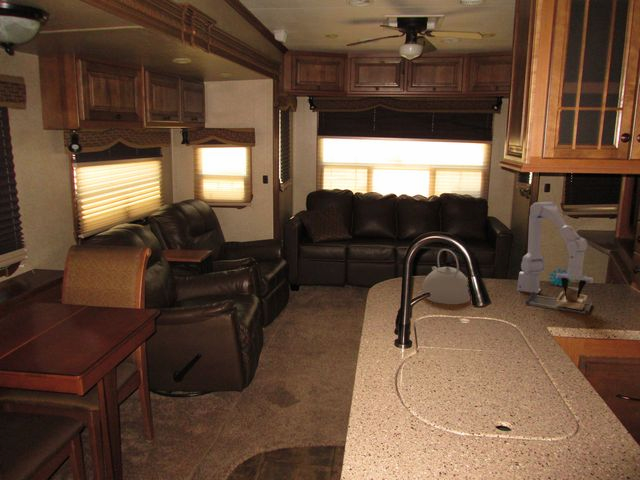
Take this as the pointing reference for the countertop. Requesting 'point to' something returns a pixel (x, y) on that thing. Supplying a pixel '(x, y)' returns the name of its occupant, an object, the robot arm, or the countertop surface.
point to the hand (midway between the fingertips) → (572, 295)
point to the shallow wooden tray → (571, 302)
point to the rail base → (550, 303)
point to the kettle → (446, 284)
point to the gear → (558, 278)
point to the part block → (572, 294)
